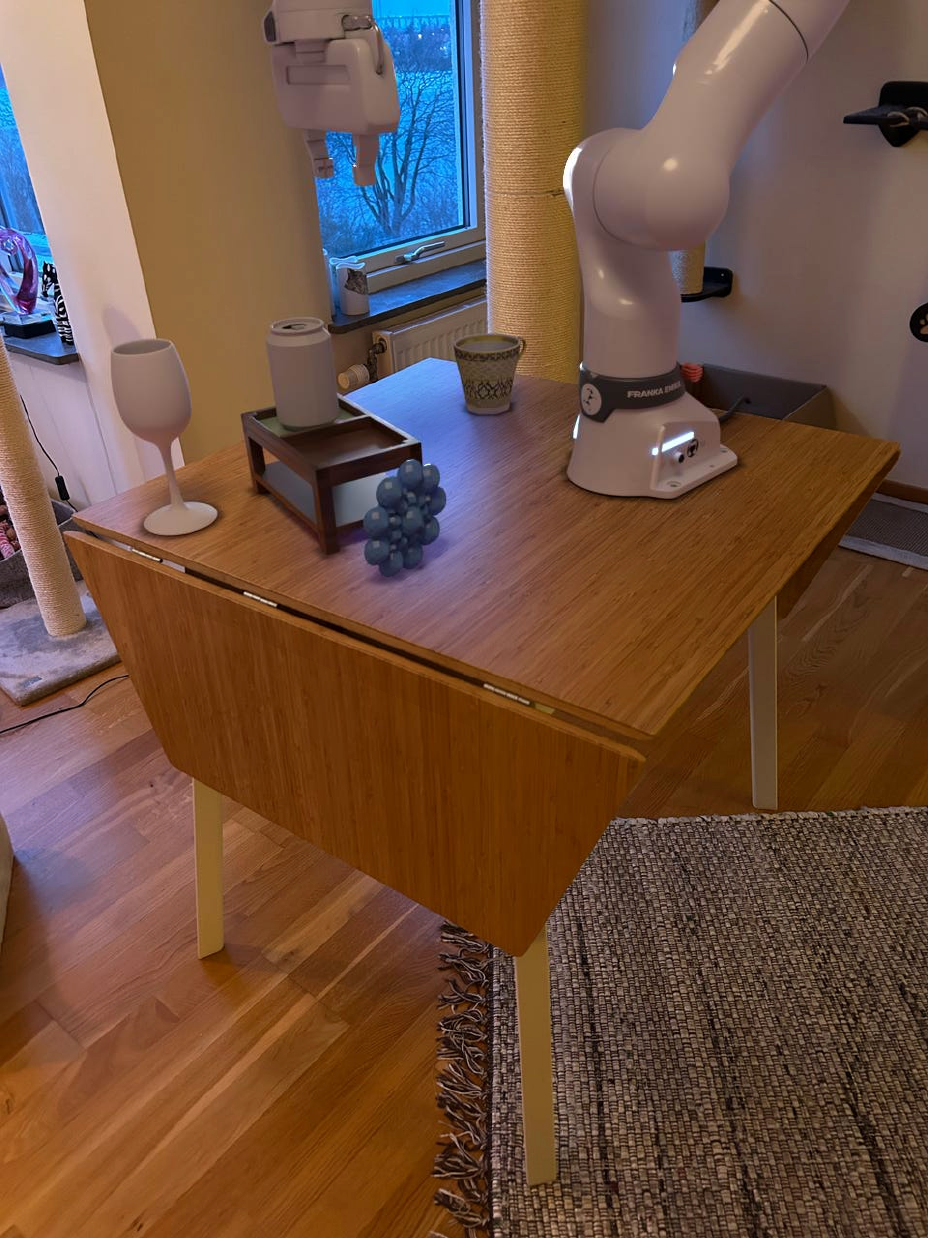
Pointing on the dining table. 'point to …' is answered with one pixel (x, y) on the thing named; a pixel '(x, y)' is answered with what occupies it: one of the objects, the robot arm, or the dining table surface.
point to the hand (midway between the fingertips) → (344, 181)
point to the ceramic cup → (488, 370)
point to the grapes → (404, 518)
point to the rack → (327, 465)
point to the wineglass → (158, 420)
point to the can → (302, 373)
